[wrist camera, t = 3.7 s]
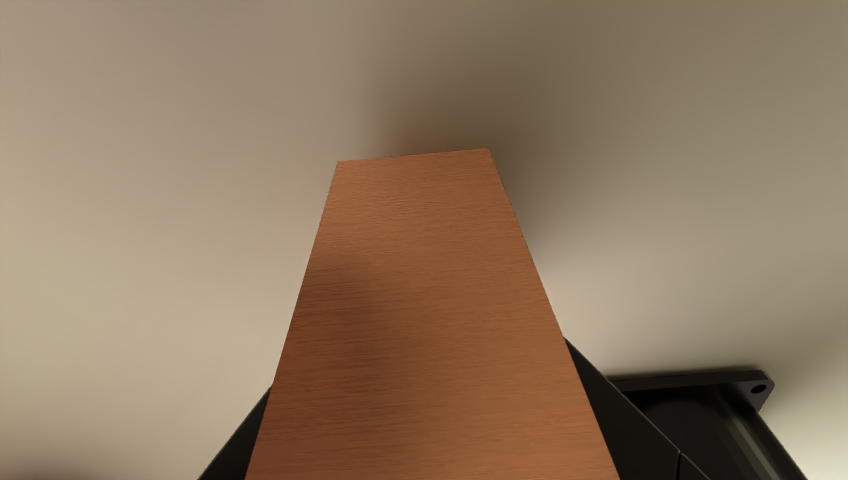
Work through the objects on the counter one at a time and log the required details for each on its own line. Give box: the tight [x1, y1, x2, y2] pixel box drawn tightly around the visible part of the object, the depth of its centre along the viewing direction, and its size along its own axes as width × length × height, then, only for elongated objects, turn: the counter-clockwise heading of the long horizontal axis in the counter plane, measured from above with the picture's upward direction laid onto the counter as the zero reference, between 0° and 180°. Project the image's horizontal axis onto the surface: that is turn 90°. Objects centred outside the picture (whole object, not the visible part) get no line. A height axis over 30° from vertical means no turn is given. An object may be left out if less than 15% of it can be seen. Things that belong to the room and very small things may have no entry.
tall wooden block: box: [245, 148, 620, 480], centre depth 7 cm, size 3×5×7 cm, turn 4°
